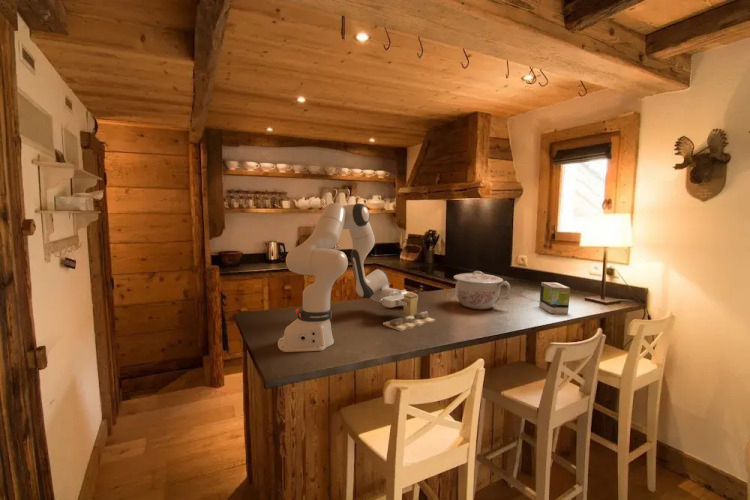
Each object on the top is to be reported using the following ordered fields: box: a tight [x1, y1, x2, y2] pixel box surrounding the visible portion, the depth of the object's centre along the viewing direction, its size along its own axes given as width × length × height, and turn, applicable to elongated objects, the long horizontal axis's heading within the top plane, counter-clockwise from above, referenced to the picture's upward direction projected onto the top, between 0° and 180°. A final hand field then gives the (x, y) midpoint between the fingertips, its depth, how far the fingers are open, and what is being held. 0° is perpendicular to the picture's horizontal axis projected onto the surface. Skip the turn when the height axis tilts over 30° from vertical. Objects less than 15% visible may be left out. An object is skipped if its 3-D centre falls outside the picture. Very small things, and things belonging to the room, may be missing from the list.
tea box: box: [538, 281, 571, 315], centre depth 208 cm, size 15×10×15 cm
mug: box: [398, 288, 420, 309], centre depth 209 cm, size 12×8×9 cm, turn 114°
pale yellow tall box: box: [403, 293, 418, 316], centre depth 180 cm, size 4×4×10 cm
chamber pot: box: [453, 270, 512, 311], centre depth 212 cm, size 28×28×21 cm
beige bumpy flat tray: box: [382, 310, 436, 332], centre depth 181 cm, size 24×12×4 cm, turn 130°
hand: (411, 303), depth 179 cm, fingers closed on pale yellow tall box, 4 cm apart
